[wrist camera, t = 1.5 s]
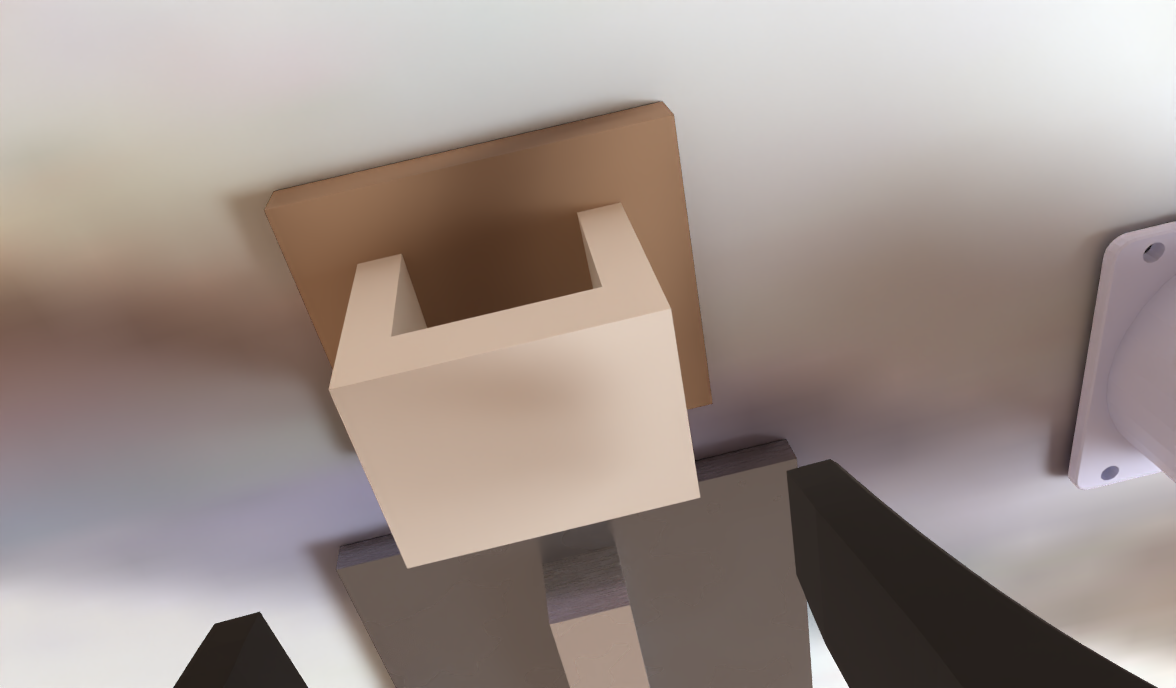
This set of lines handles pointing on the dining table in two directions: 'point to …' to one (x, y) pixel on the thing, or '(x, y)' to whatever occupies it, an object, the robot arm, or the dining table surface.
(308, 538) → the dining table surface
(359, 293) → the u clip
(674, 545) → the rack
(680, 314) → the brown square backing plate
